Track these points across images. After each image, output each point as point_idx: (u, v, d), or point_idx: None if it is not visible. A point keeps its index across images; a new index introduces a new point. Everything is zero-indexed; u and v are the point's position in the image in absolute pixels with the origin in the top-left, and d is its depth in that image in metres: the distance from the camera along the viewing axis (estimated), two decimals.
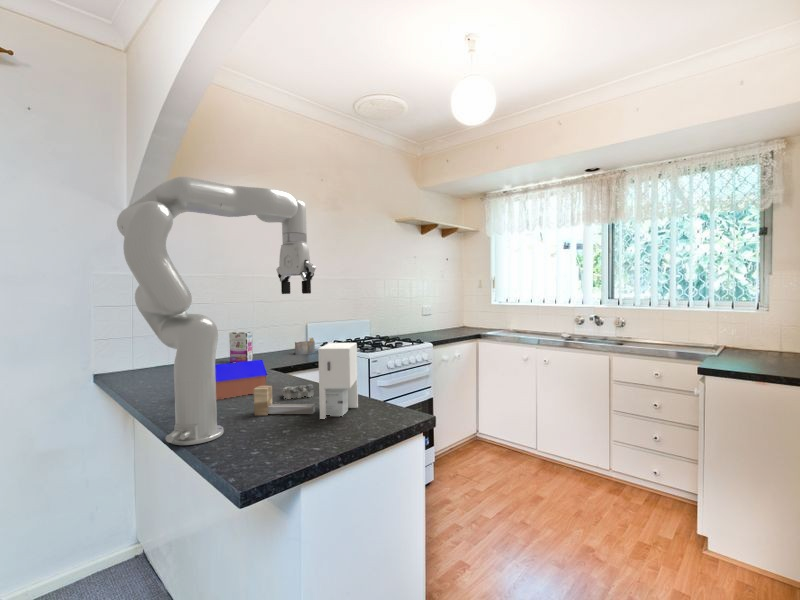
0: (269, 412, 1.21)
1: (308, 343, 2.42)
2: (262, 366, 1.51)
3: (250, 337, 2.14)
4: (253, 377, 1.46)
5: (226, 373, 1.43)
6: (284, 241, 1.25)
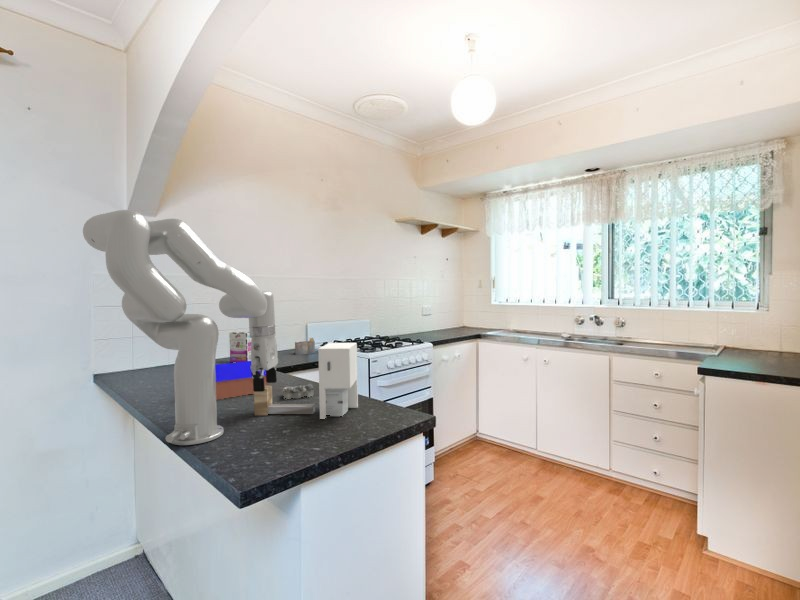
0: (269, 412, 1.21)
1: (308, 343, 2.42)
2: None
3: None
4: None
5: (228, 373, 1.43)
6: (273, 333, 1.22)
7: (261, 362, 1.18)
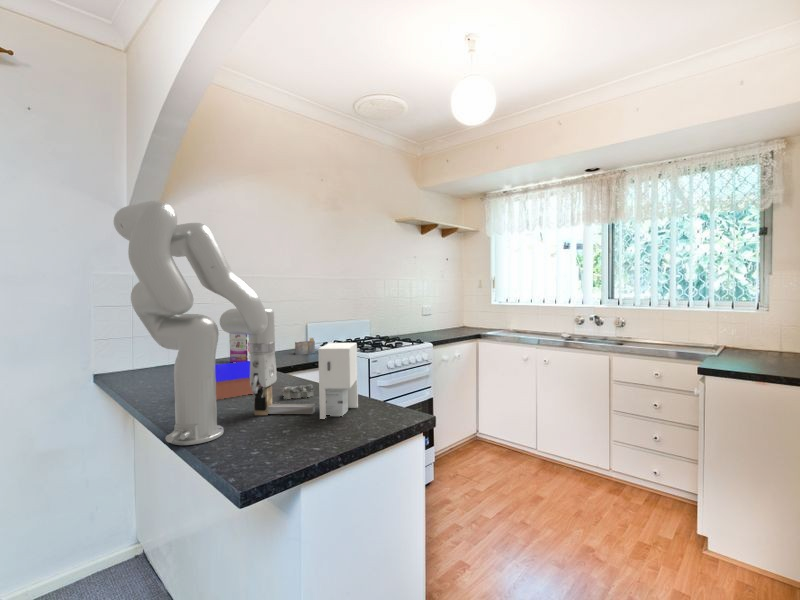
0: (269, 412, 1.21)
1: (308, 343, 2.42)
2: None
3: None
4: None
5: (229, 373, 1.43)
6: (273, 350, 1.22)
7: (260, 379, 1.17)
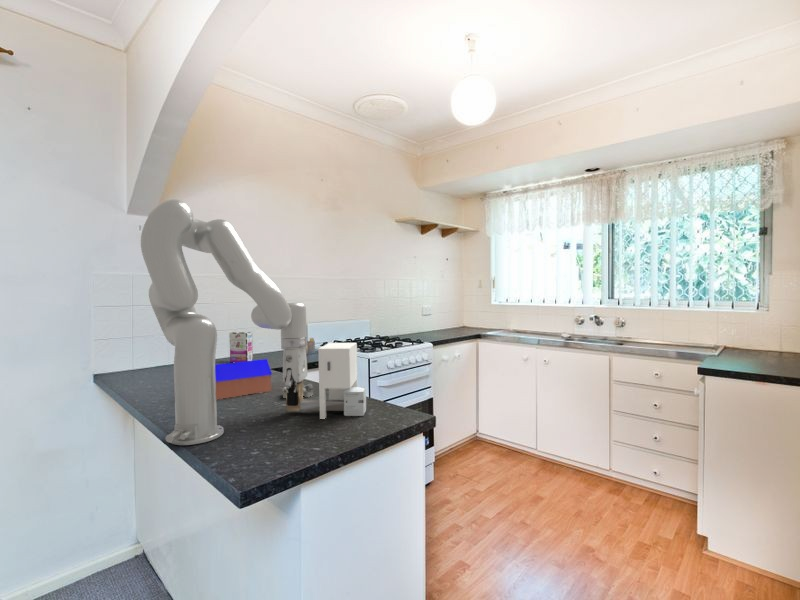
0: (301, 407, 1.20)
1: (308, 343, 2.42)
2: (267, 365, 1.52)
3: (250, 337, 2.14)
4: (258, 376, 1.47)
5: (231, 373, 1.44)
6: (305, 345, 1.21)
7: (293, 374, 1.17)
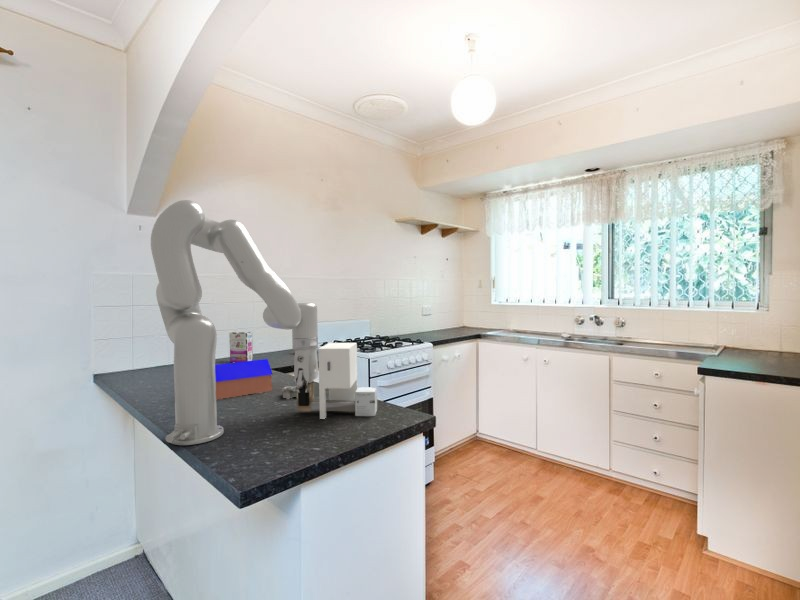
0: (312, 408, 1.20)
1: None
2: (267, 365, 1.52)
3: (250, 337, 2.14)
4: (259, 376, 1.47)
5: (232, 373, 1.44)
6: (316, 345, 1.21)
7: (304, 374, 1.16)
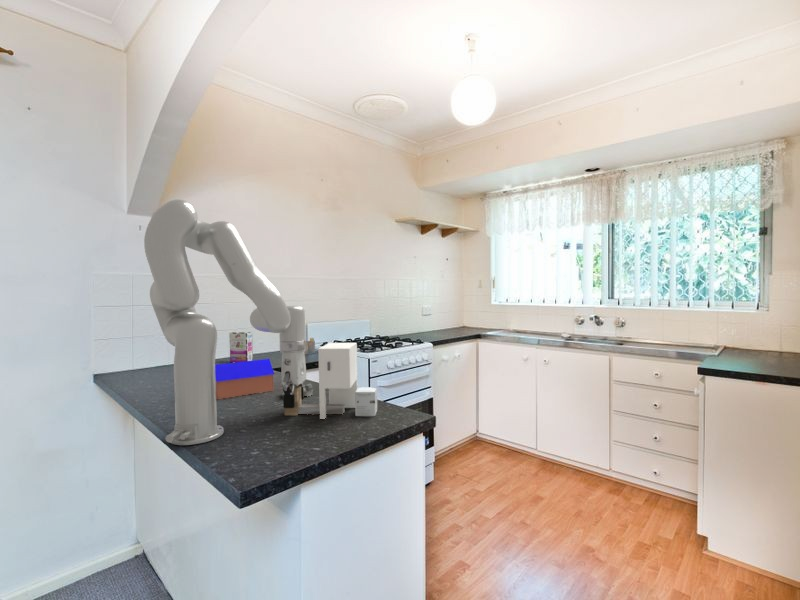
0: (299, 412, 1.20)
1: (308, 343, 2.42)
2: (269, 365, 1.52)
3: (250, 337, 2.14)
4: (260, 376, 1.48)
5: (234, 372, 1.44)
6: (304, 348, 1.21)
7: (291, 377, 1.17)
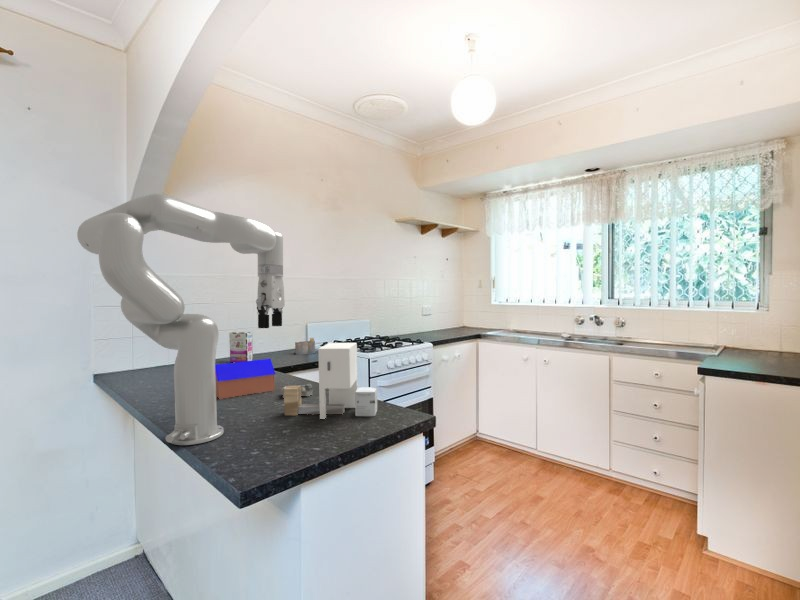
0: (299, 412, 1.20)
1: (308, 343, 2.42)
2: (270, 365, 1.53)
3: (250, 337, 2.14)
4: (261, 376, 1.48)
5: (235, 372, 1.45)
6: (281, 274, 1.23)
7: (267, 299, 1.19)
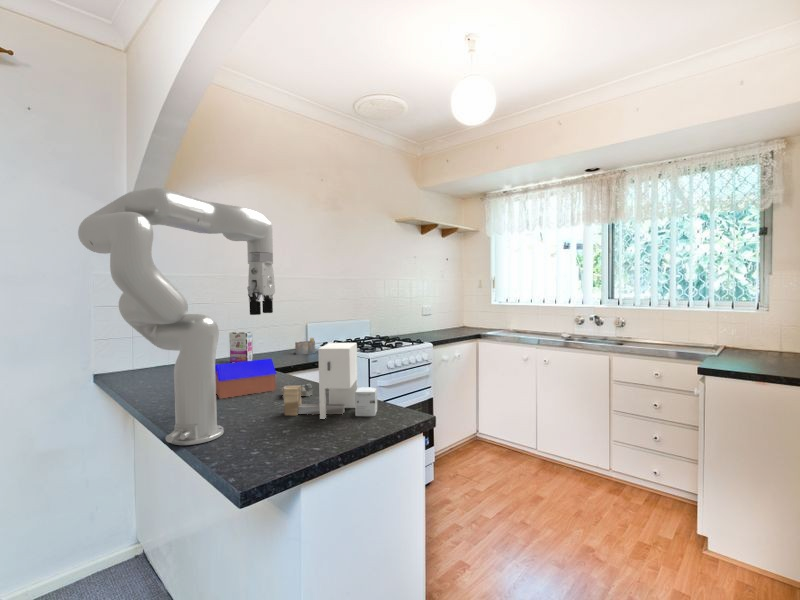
0: (299, 412, 1.20)
1: (308, 343, 2.42)
2: (271, 365, 1.53)
3: (250, 337, 2.14)
4: (262, 376, 1.48)
5: (236, 372, 1.45)
6: (271, 261, 1.25)
7: (258, 286, 1.21)
